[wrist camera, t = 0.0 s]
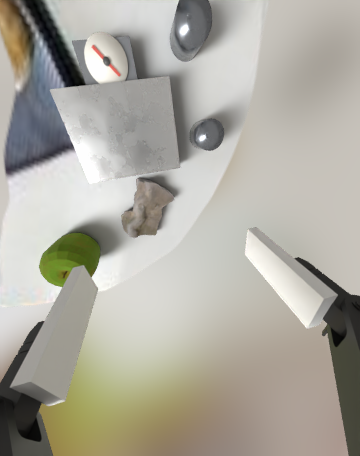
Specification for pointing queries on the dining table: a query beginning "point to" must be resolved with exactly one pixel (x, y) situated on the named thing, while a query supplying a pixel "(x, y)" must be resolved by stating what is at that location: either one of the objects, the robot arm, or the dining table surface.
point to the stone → (146, 208)
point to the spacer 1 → (190, 28)
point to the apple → (69, 257)
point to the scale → (105, 59)
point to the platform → (121, 127)
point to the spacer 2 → (207, 134)
